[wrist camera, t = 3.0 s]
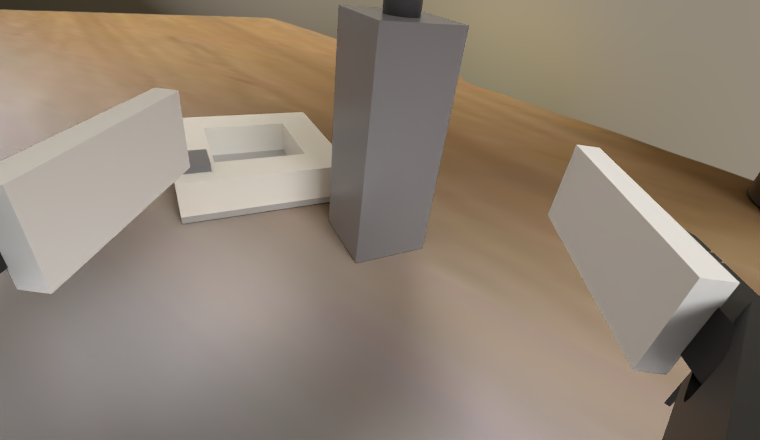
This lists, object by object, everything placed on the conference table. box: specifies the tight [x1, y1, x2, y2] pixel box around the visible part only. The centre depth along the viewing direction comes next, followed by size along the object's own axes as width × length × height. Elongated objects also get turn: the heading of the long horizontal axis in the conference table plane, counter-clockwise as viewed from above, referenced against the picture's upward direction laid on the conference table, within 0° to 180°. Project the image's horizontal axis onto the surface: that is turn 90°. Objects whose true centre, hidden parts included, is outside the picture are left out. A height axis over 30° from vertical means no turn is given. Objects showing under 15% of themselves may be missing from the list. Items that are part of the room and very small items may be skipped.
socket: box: [174, 112, 332, 224], centre depth 33 cm, size 12×12×4 cm
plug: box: [329, 0, 469, 263], centre depth 24 cm, size 5×5×17 cm
